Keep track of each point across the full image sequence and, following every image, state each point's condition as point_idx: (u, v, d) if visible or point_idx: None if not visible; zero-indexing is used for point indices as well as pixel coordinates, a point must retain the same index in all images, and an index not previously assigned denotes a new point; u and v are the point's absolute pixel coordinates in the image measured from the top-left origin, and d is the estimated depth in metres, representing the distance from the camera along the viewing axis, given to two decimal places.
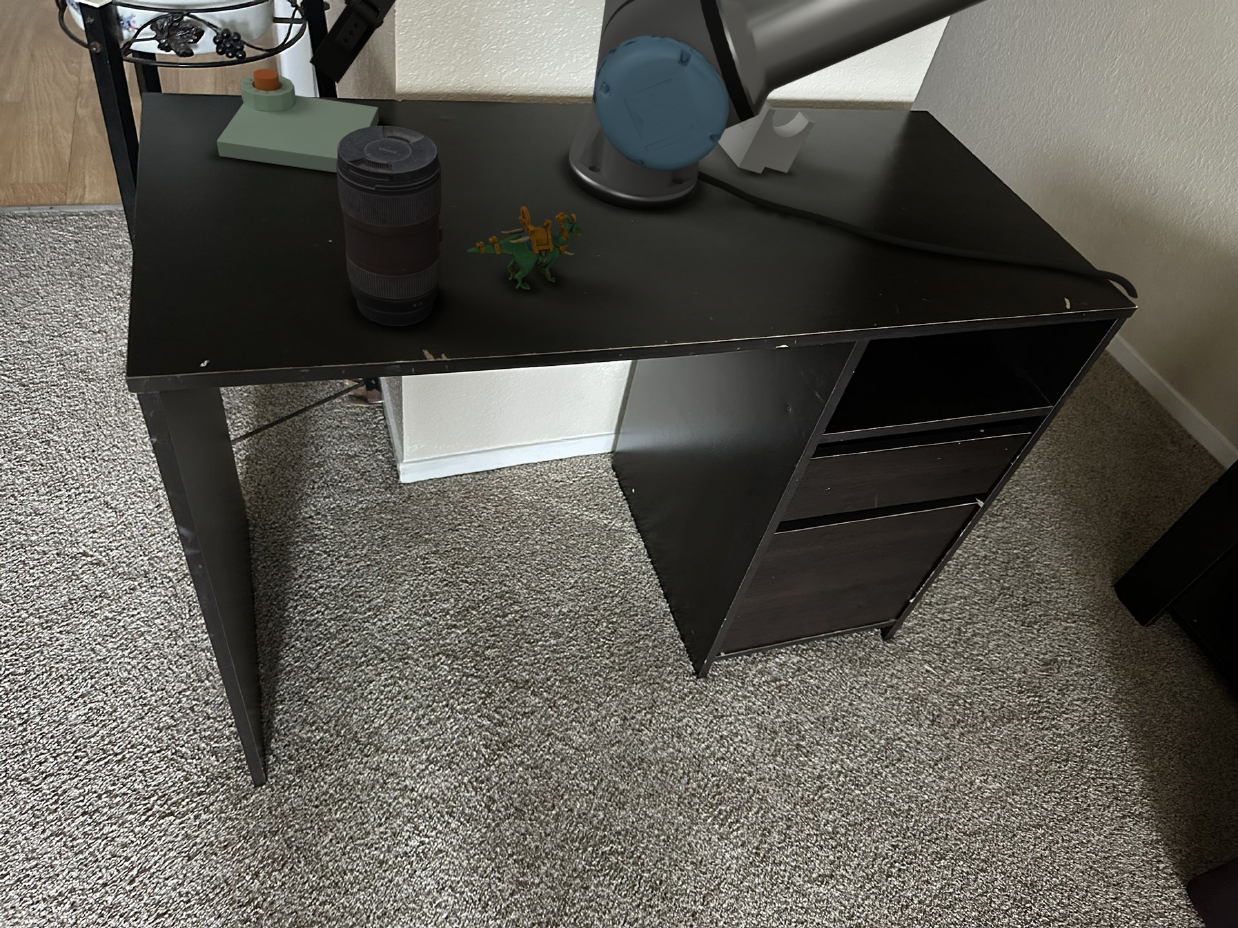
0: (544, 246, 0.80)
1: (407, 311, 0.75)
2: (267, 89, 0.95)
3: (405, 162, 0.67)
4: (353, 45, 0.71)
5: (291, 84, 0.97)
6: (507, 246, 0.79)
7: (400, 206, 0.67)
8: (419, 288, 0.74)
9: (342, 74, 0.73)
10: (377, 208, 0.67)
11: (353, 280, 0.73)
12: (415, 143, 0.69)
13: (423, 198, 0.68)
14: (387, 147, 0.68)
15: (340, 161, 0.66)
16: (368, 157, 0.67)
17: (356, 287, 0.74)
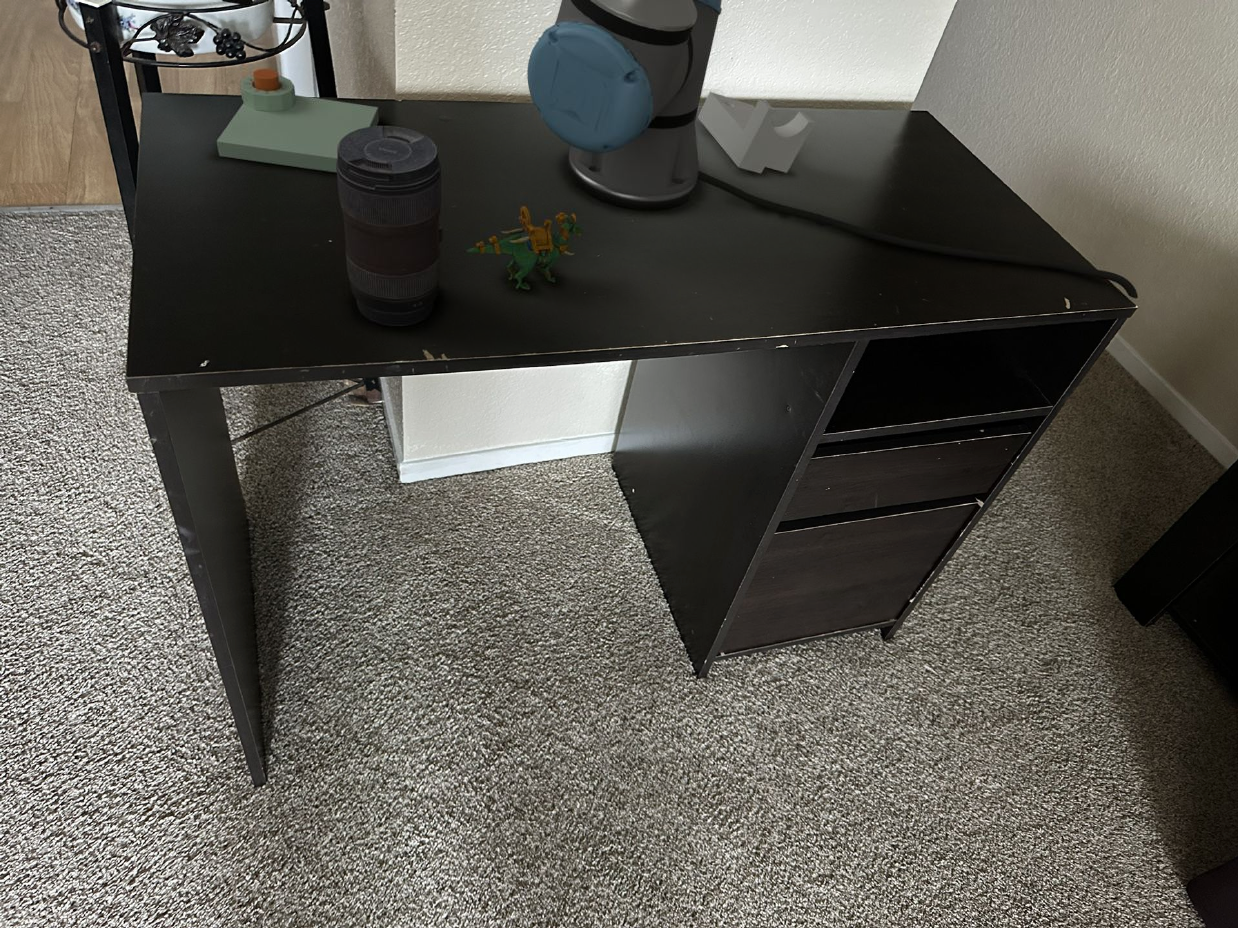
0: (544, 246, 0.80)
1: (407, 311, 0.75)
2: (267, 89, 0.95)
3: (405, 162, 0.67)
4: None
5: (291, 84, 0.97)
6: (507, 246, 0.79)
7: (400, 206, 0.67)
8: (419, 288, 0.74)
9: None
10: (377, 208, 0.67)
11: (353, 280, 0.73)
12: (415, 143, 0.69)
13: (423, 198, 0.68)
14: (387, 147, 0.68)
15: (340, 161, 0.66)
16: (368, 157, 0.67)
17: (356, 287, 0.74)
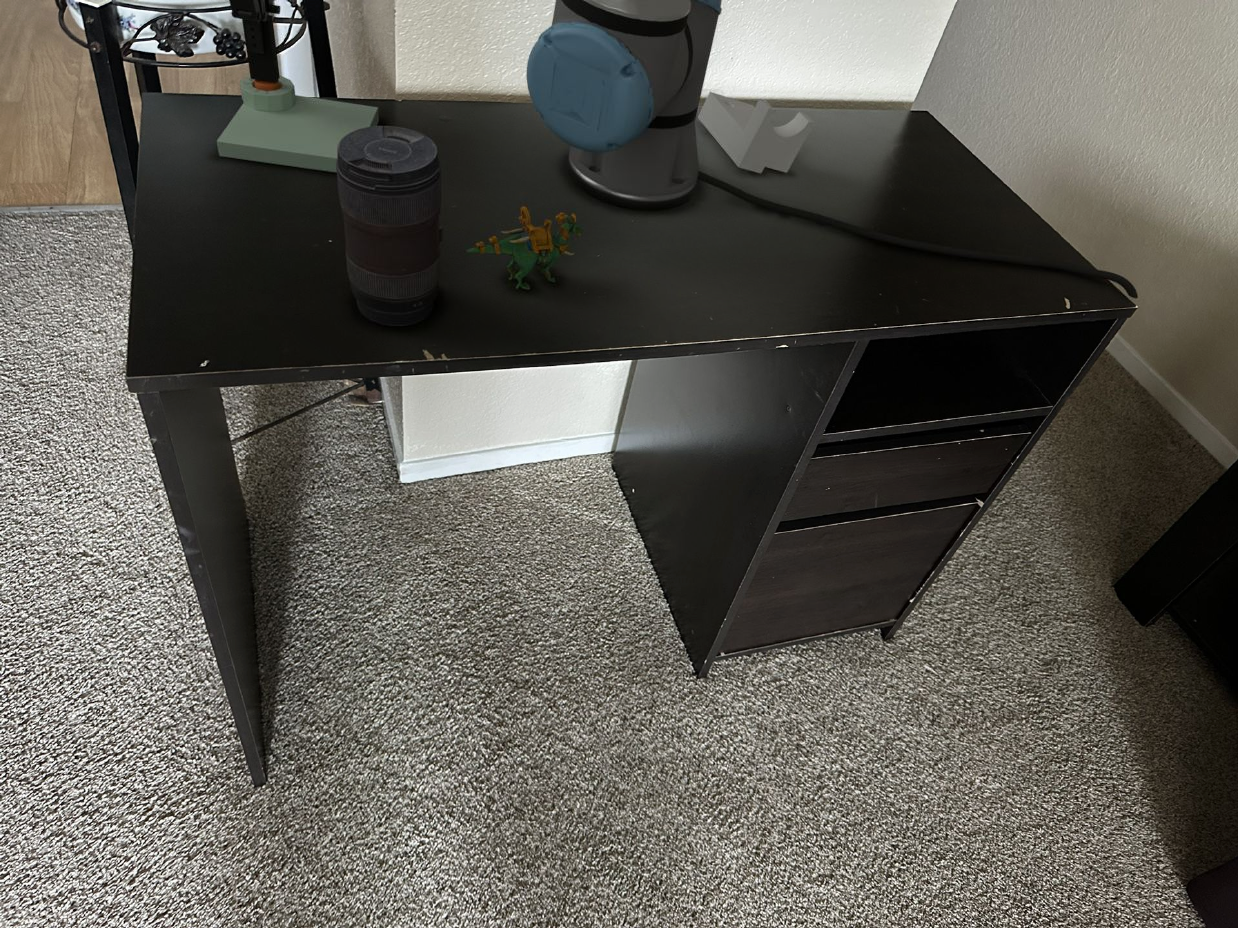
0: (544, 246, 0.80)
1: (407, 311, 0.75)
2: None
3: (405, 162, 0.67)
4: (260, 45, 0.91)
5: (291, 84, 0.97)
6: (507, 246, 0.79)
7: (400, 206, 0.67)
8: (419, 288, 0.74)
9: (273, 73, 0.95)
10: (377, 208, 0.67)
11: (353, 280, 0.73)
12: (415, 143, 0.69)
13: (423, 198, 0.68)
14: (387, 147, 0.68)
15: (340, 161, 0.66)
16: (368, 157, 0.67)
17: (356, 287, 0.74)
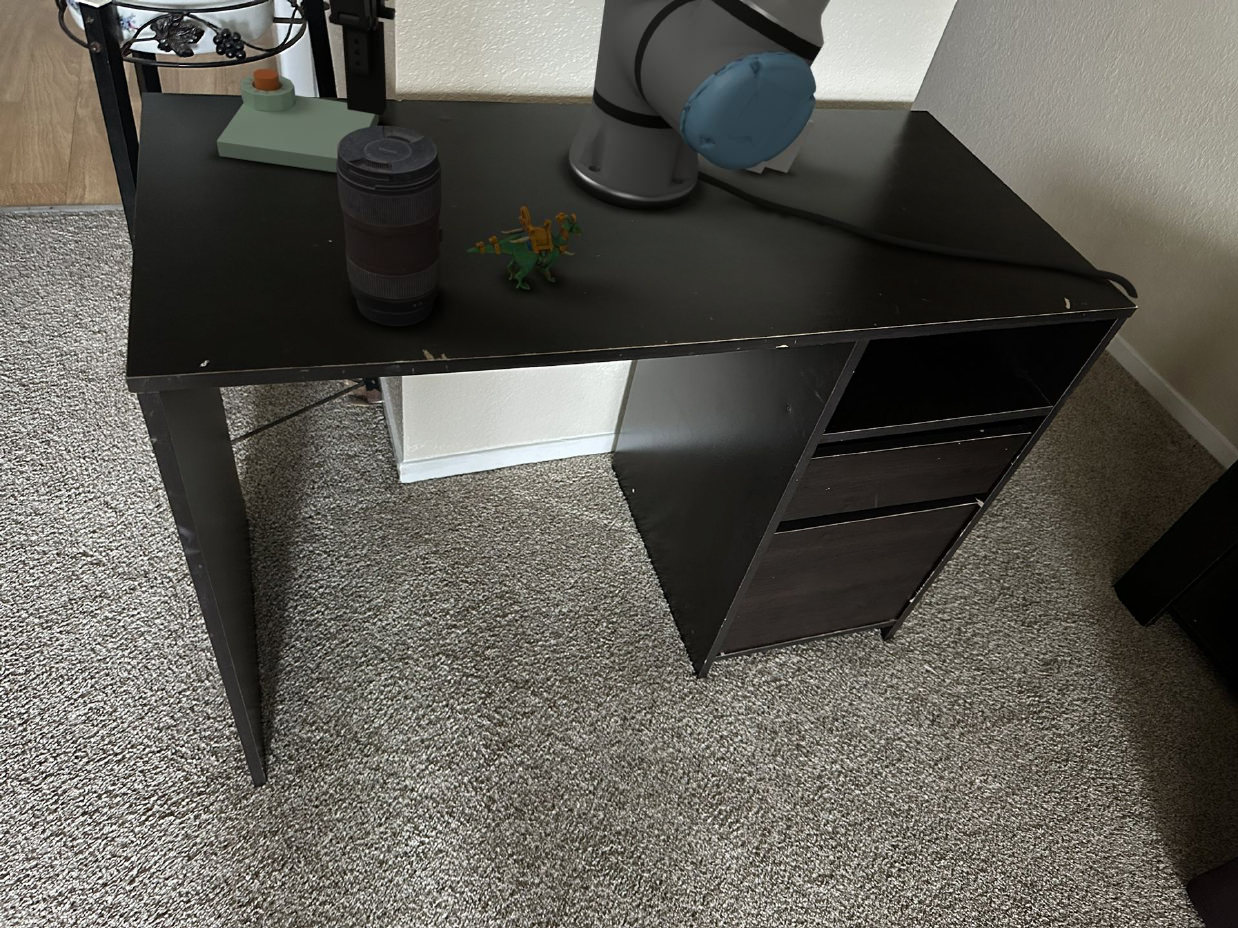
0: (544, 246, 0.80)
1: (407, 311, 0.75)
2: (267, 89, 0.95)
3: (405, 162, 0.67)
4: (366, 64, 0.64)
5: (291, 84, 0.97)
6: (507, 246, 0.79)
7: (400, 206, 0.67)
8: (419, 288, 0.74)
9: (380, 102, 0.67)
10: (377, 208, 0.67)
11: (353, 280, 0.73)
12: (415, 143, 0.69)
13: (423, 198, 0.68)
14: (387, 147, 0.68)
15: (340, 161, 0.66)
16: (368, 157, 0.67)
17: (356, 287, 0.74)
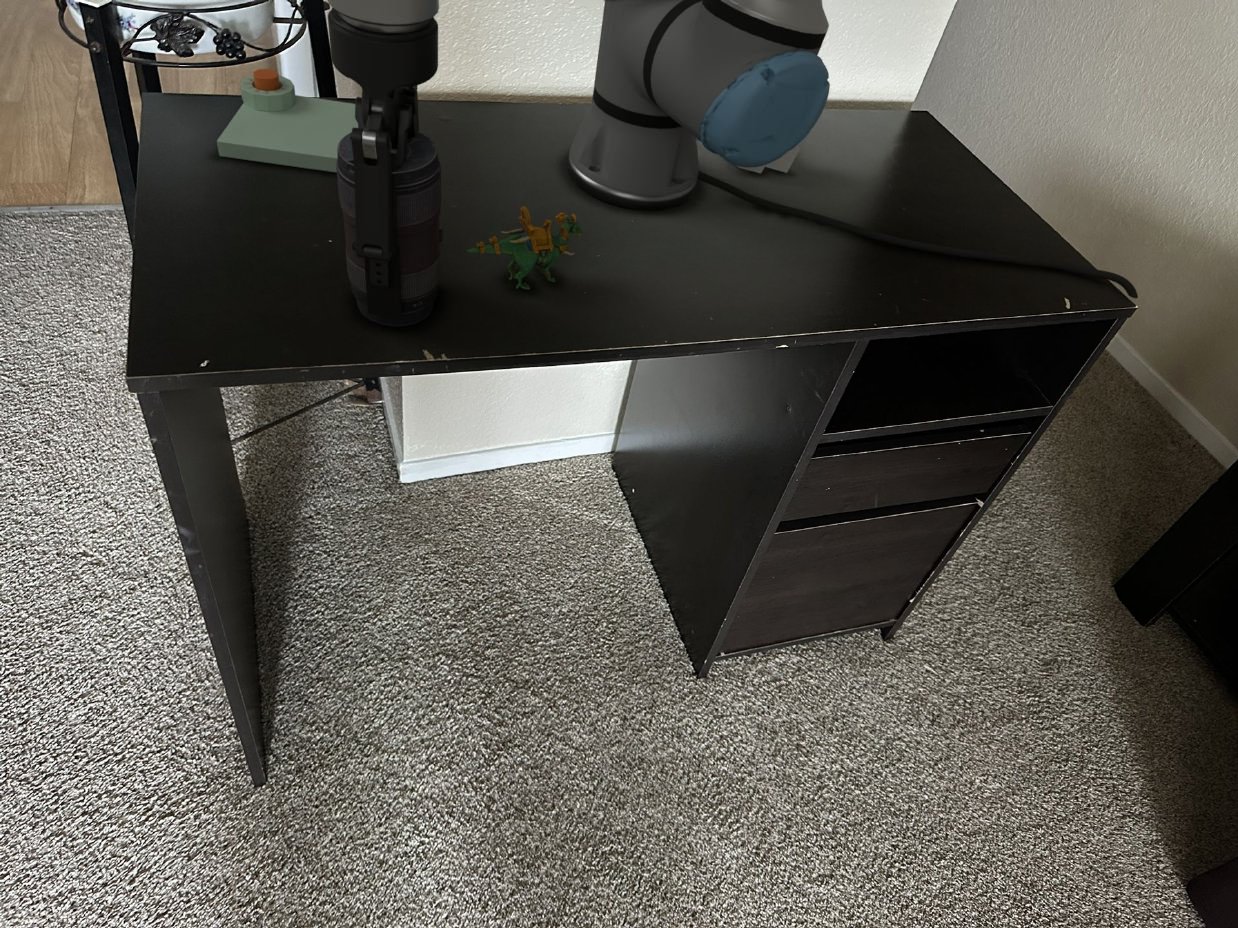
0: (544, 246, 0.80)
1: (407, 311, 0.75)
2: (267, 89, 0.95)
3: (405, 162, 0.67)
4: (386, 281, 0.70)
5: (291, 84, 0.97)
6: (507, 246, 0.79)
7: (400, 206, 0.67)
8: (419, 288, 0.74)
9: (398, 307, 0.73)
10: None
11: (353, 280, 0.73)
12: (415, 143, 0.69)
13: (423, 198, 0.68)
14: None
15: (340, 161, 0.66)
16: None
17: (356, 287, 0.74)
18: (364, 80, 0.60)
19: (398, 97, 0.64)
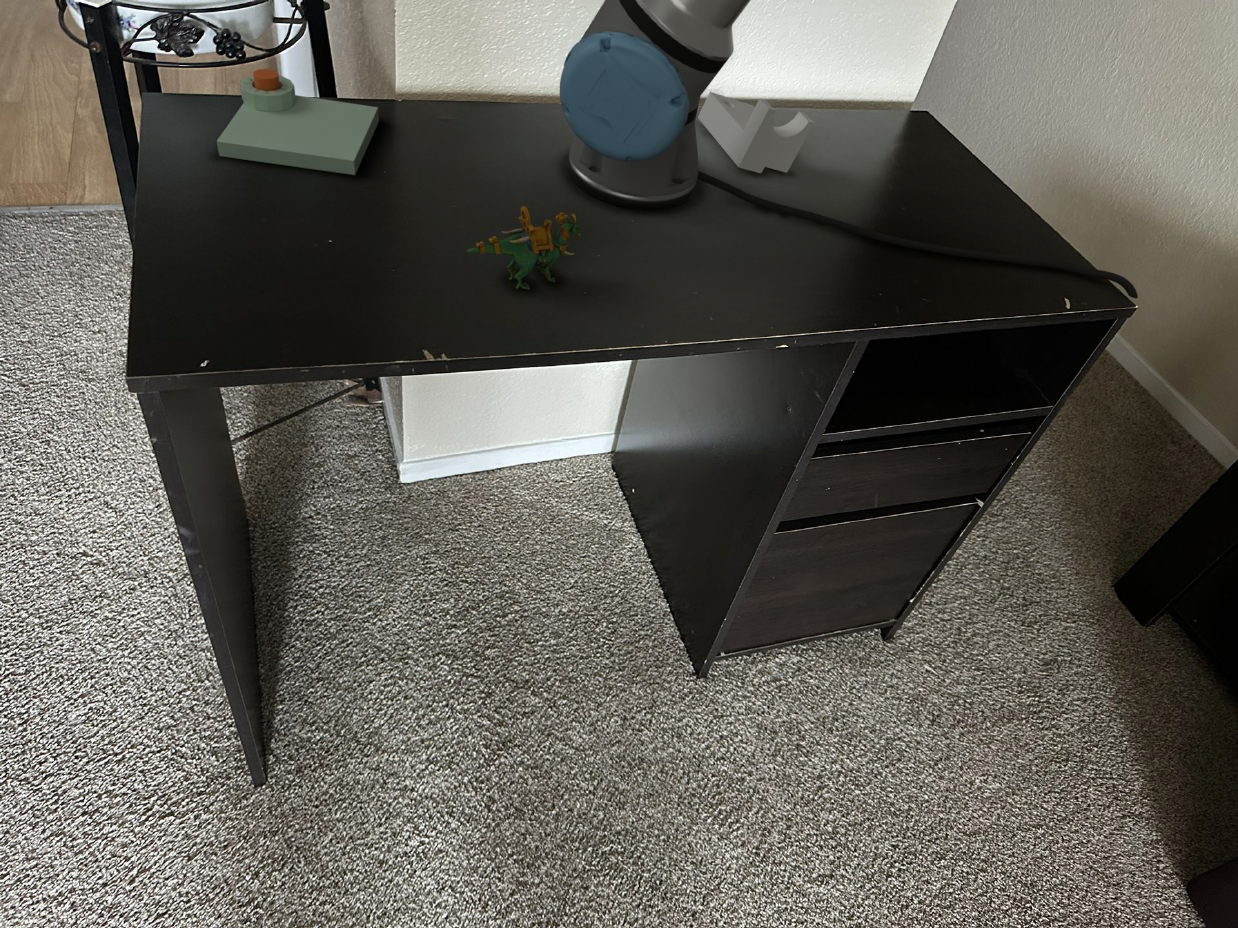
0: (544, 246, 0.80)
1: None
2: (267, 89, 0.95)
3: None
4: None
5: (291, 84, 0.97)
6: (507, 246, 0.79)
7: None
8: None
9: None
10: None
11: None
12: None
13: None
14: None
15: None
16: None
17: None
18: None
19: None
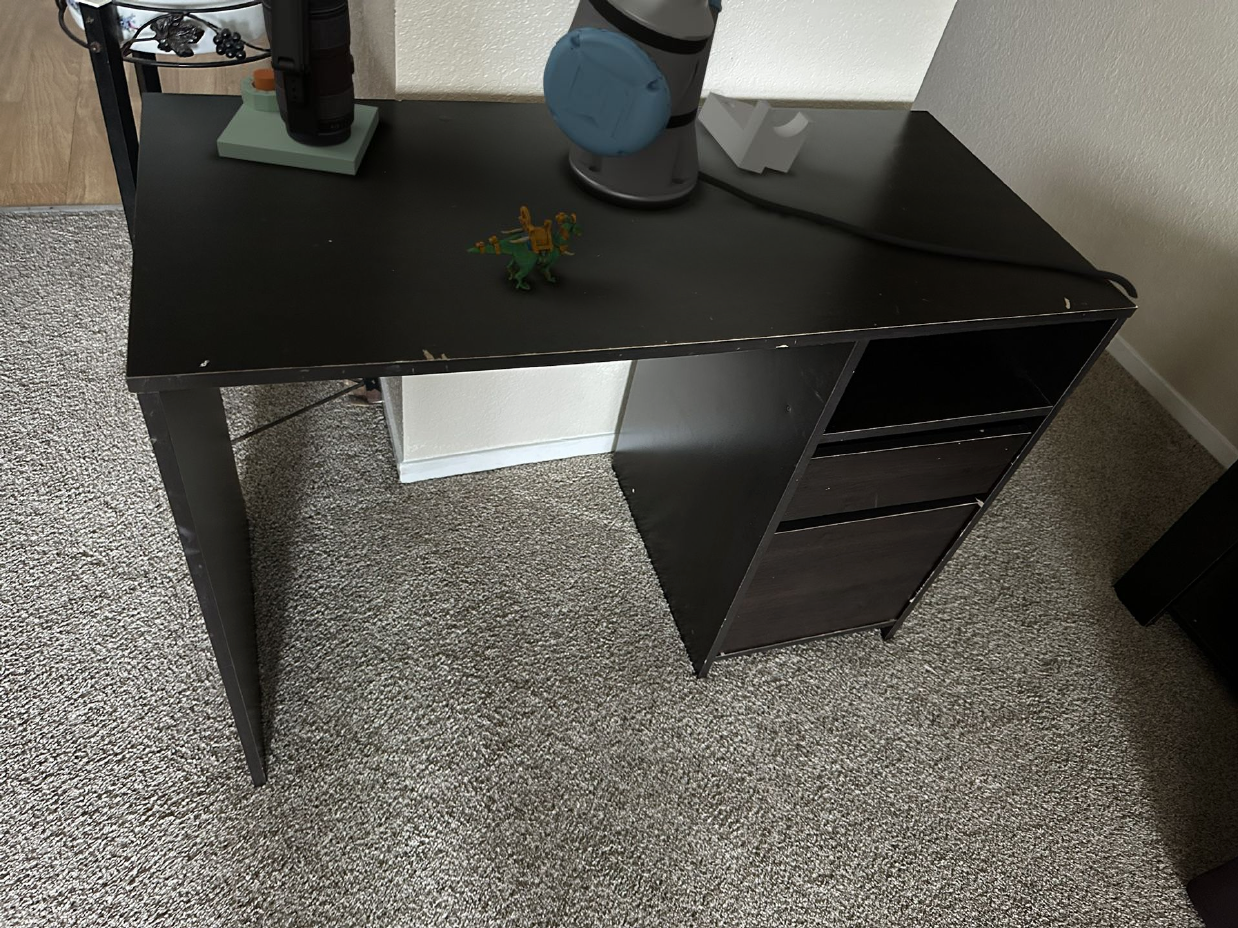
0: (544, 246, 0.80)
1: (326, 132, 0.91)
2: (267, 89, 0.95)
3: None
4: (302, 98, 0.84)
5: None
6: (507, 246, 0.79)
7: (313, 31, 0.83)
8: (335, 110, 0.89)
9: (314, 126, 0.87)
10: None
11: (280, 103, 0.89)
12: None
13: (332, 25, 0.84)
14: None
15: None
16: None
17: (283, 110, 0.89)
18: None
19: None
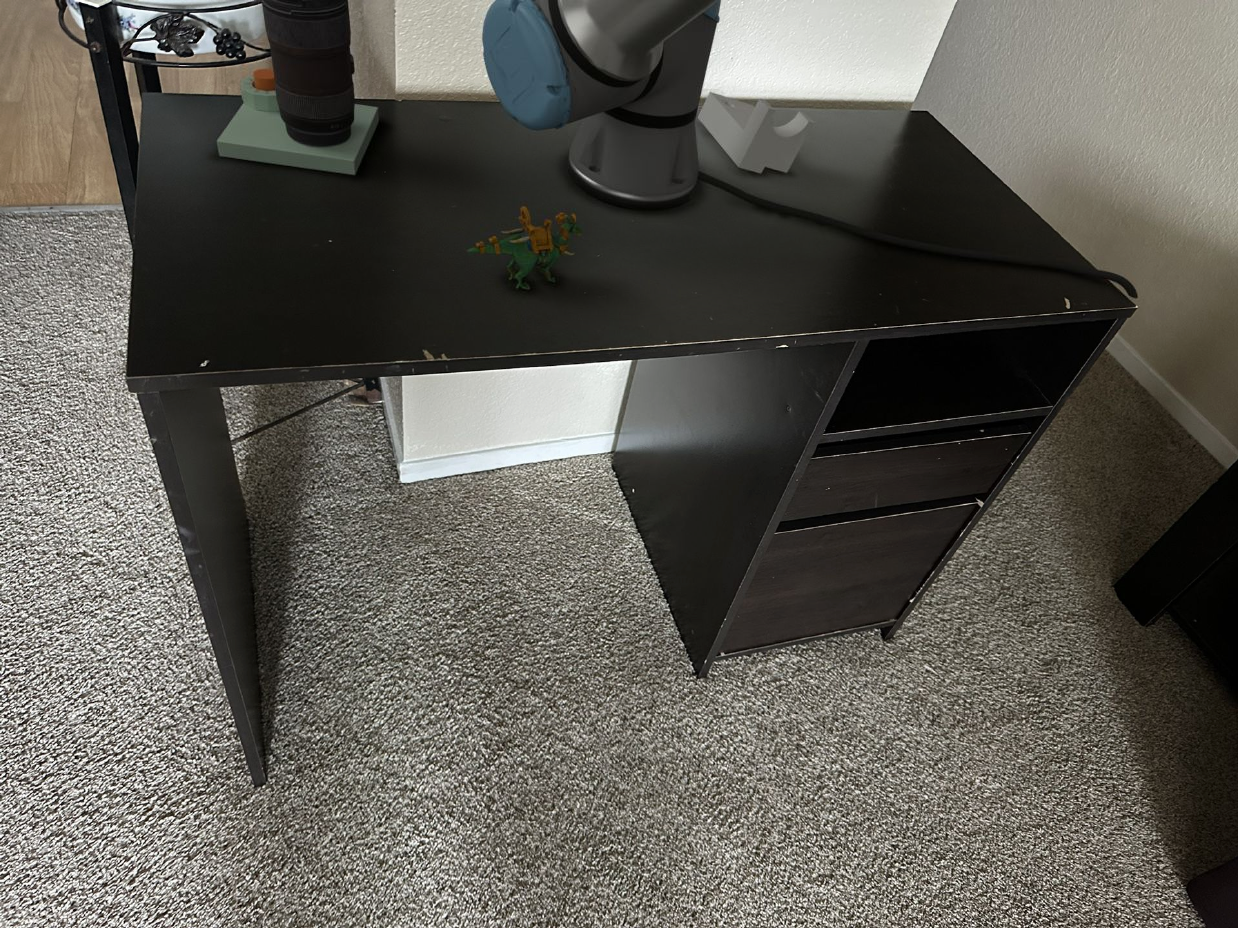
0: (544, 246, 0.80)
1: (326, 132, 0.91)
2: (267, 89, 0.95)
3: None
4: None
5: None
6: (507, 246, 0.79)
7: (313, 31, 0.83)
8: (335, 110, 0.89)
9: None
10: (293, 32, 0.83)
11: (280, 103, 0.89)
12: None
13: (332, 25, 0.84)
14: None
15: None
16: None
17: (283, 110, 0.89)
18: None
19: None
